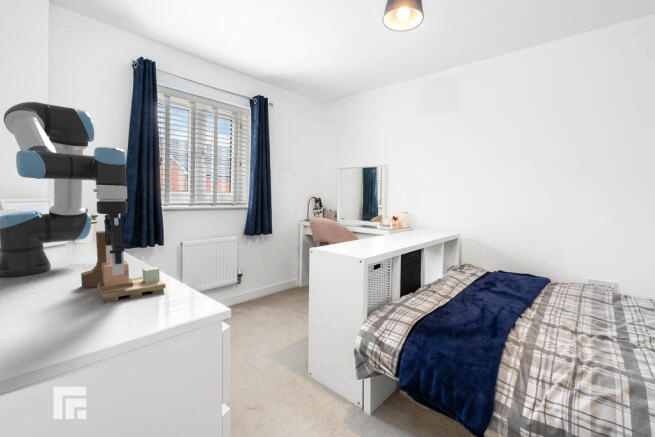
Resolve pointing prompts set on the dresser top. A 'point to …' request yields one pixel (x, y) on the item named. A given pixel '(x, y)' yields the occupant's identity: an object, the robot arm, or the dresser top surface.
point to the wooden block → (95, 274)
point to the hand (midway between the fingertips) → (115, 269)
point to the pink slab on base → (114, 278)
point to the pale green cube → (150, 274)
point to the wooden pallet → (133, 290)
